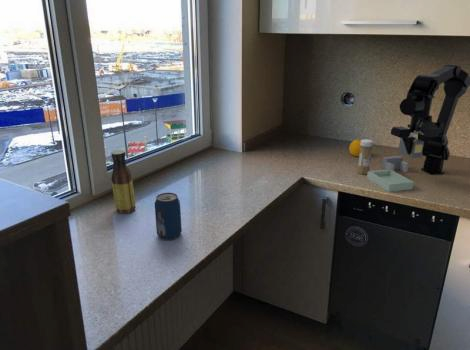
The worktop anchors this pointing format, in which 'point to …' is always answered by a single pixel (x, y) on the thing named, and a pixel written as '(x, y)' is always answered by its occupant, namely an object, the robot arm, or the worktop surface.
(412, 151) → the grey block
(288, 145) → the worktop surface
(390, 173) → the tray
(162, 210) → the soda can
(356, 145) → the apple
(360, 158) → the sprinkles bottle
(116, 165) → the sauce bottle
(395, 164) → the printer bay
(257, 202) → the worktop surface
